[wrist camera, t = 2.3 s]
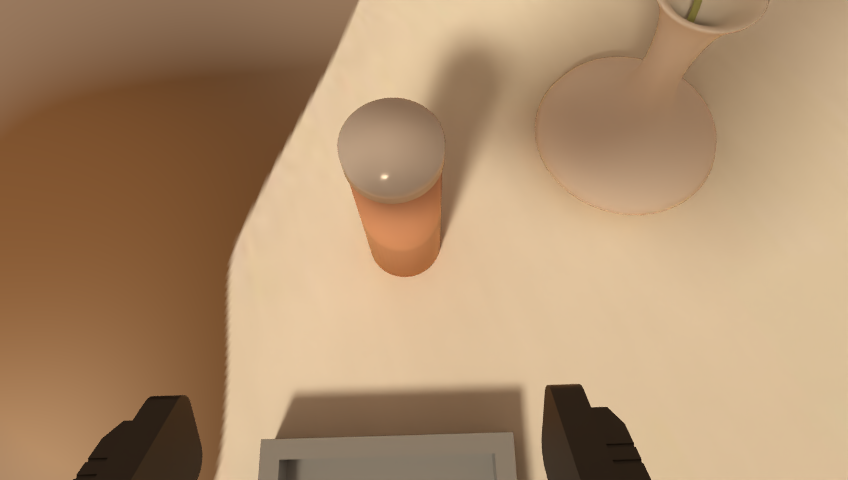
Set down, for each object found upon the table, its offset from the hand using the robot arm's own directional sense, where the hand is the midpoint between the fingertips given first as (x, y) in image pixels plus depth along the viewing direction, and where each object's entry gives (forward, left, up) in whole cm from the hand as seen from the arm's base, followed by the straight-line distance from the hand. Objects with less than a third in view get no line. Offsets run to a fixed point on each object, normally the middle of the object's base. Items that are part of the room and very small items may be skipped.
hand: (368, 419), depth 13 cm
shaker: (0, -12, -20) cm, 23 cm away
